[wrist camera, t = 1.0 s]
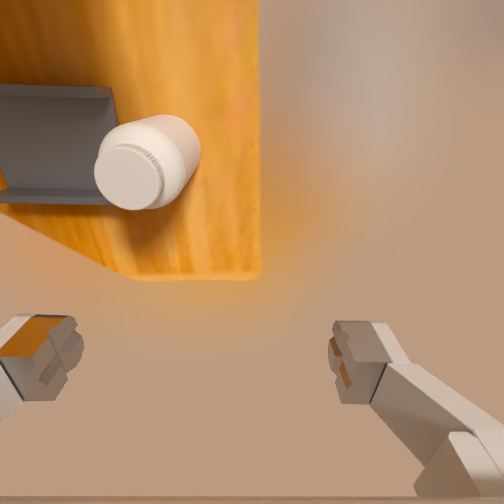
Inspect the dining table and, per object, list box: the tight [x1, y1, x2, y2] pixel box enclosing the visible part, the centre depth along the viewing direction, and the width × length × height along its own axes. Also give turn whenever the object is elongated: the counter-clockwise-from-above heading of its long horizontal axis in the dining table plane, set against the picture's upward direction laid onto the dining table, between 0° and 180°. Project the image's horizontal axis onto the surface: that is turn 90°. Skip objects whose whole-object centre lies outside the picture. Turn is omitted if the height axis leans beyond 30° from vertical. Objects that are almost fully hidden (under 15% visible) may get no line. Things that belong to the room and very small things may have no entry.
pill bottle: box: [94, 115, 201, 211], centre depth 29 cm, size 8×8×15 cm
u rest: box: [0, 84, 119, 205], centre depth 34 cm, size 13×16×4 cm
